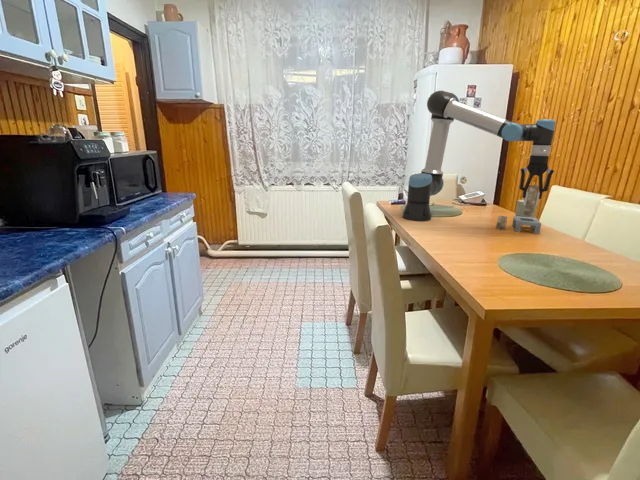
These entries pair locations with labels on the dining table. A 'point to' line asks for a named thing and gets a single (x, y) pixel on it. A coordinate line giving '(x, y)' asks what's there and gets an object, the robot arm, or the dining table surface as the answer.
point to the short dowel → (501, 222)
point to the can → (522, 209)
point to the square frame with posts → (526, 223)
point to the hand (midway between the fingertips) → (530, 205)
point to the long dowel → (531, 200)
